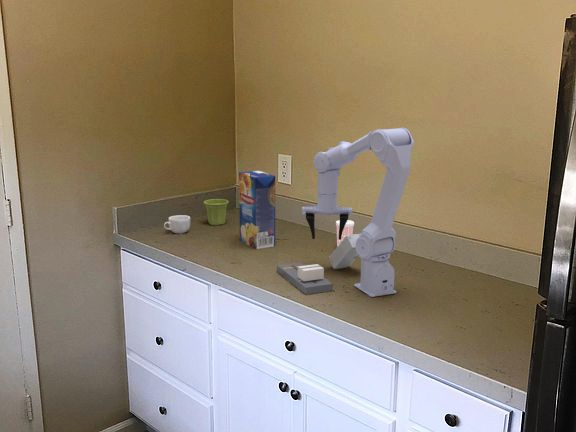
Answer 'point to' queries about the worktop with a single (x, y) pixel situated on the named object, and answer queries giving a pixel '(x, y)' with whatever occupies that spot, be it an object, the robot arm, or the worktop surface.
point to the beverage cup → (344, 230)
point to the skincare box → (345, 252)
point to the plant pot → (216, 211)
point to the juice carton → (257, 209)
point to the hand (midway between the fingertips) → (326, 238)
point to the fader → (310, 272)
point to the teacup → (178, 223)
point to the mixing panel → (305, 286)
